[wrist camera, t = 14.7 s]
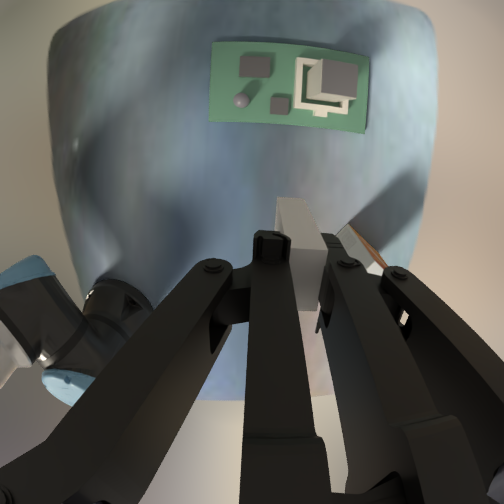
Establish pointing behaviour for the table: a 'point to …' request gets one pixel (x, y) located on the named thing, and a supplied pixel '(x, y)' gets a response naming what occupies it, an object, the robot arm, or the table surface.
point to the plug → (332, 81)
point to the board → (280, 86)
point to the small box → (361, 250)
